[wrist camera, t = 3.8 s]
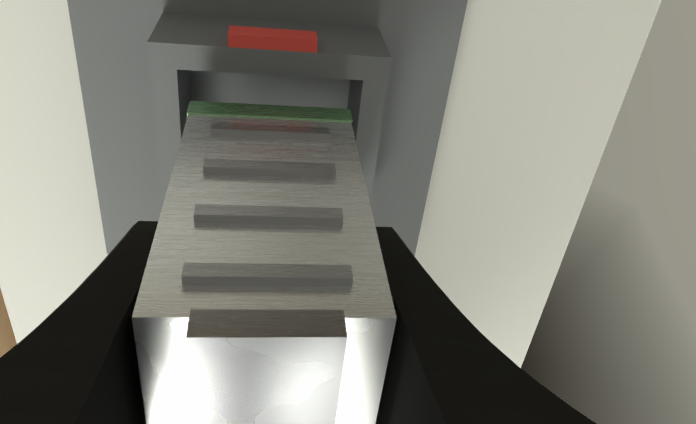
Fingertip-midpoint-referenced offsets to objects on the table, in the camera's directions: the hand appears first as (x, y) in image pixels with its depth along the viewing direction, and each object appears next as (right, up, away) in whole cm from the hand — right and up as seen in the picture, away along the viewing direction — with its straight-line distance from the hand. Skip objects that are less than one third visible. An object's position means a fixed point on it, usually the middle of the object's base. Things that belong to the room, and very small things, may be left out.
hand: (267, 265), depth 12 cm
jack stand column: (0, +2, +3) cm, 3 cm away
